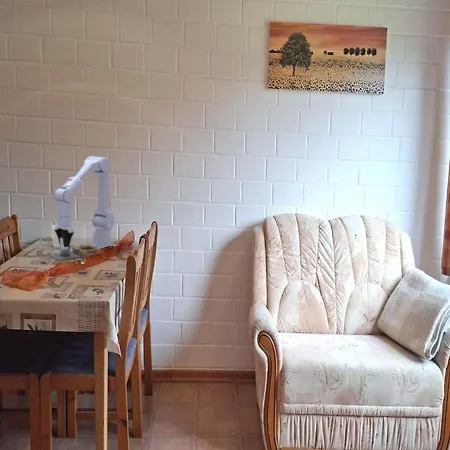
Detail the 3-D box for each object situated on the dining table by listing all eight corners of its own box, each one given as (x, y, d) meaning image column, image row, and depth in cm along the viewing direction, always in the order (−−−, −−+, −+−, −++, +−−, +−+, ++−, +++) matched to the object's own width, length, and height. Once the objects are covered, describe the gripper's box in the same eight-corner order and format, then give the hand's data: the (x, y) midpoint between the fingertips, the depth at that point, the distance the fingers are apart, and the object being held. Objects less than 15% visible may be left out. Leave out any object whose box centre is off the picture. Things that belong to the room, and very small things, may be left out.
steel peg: (59, 254, 240) (58, 237, 239) (67, 253, 243) (67, 236, 241) (62, 256, 237) (62, 238, 236) (71, 255, 240) (70, 237, 238)
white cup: (51, 245, 261) (50, 224, 259) (67, 244, 265) (67, 224, 263) (53, 248, 254) (52, 227, 252) (70, 247, 258) (70, 227, 256)
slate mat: (49, 255, 240) (49, 254, 240) (70, 252, 247) (70, 252, 247) (58, 260, 233) (58, 259, 233) (80, 257, 240) (80, 256, 239)
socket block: (72, 252, 248) (72, 247, 247) (92, 250, 254) (92, 244, 254) (82, 257, 240) (82, 251, 240) (102, 254, 247) (102, 249, 246)
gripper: (48, 214, 239) (49, 243, 242) (62, 219, 229) (62, 250, 231) (63, 212, 244) (64, 242, 246) (77, 217, 233) (78, 248, 236)
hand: (64, 245), depth 239 cm, fingers closed on steel peg, 4 cm apart
